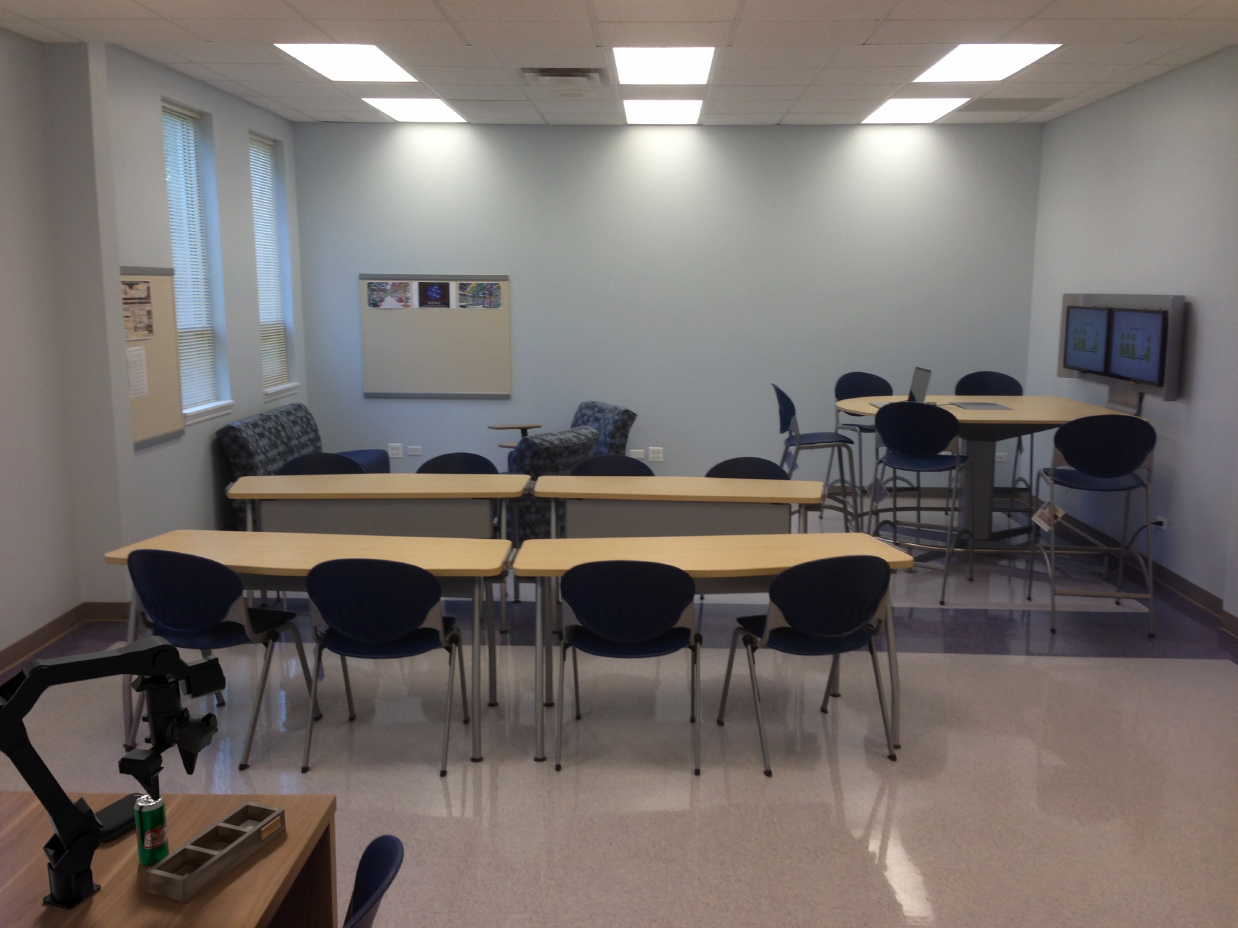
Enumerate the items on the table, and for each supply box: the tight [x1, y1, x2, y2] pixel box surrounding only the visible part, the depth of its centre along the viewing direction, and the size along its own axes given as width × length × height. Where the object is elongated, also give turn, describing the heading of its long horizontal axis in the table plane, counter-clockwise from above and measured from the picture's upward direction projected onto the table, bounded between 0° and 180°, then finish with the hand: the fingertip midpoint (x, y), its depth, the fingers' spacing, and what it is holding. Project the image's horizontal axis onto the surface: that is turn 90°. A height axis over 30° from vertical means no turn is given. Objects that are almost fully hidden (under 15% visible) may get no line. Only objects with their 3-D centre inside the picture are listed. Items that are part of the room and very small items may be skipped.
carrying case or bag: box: [94, 792, 145, 844], centre depth 189 cm, size 11×3×15 cm
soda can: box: [134, 793, 170, 868], centre depth 175 cm, size 5×5×12 cm
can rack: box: [144, 800, 287, 904], centre depth 176 cm, size 10×25×4 cm, turn 160°
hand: (173, 786), depth 175 cm, fingers open, 9 cm apart
